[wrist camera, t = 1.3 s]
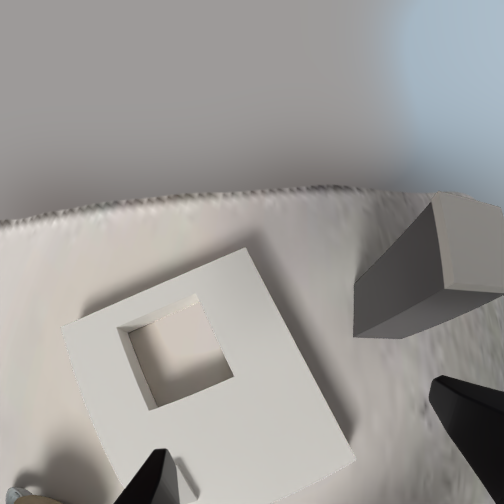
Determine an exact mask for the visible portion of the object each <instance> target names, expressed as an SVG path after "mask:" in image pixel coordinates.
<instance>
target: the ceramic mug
mask: <svg viewBox="0 0 504 504" xmlns="http://www.w3.org/2000/svg"><path fill="white" fill-rule="evenodd" d="M20 496H21V497H20ZM6 504H63V503H61V502H59V501H57V500H54V499H51V498H48V497H43V496H37V495H32V493H30V492H29V491H28V490H26V489H24V488H18V487H12V488H9V489H8V491H7V494H6Z"/></svg>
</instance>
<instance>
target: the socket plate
mask: <svg viewBox="0 0 504 504" xmlns="http://www.w3.org/2000/svg"><path fill="white" fill-rule="evenodd" d="M199 302H200V304H201V306H202V308H203V311H204V313H205V315H206V317H207V320H208V322H209V324H210V326H211V328H212V331H213V333H214V335H215V337H216V339H217V341H218V343H219V346H220V348H221V350H222V352H223V354H224V356H225V358H226V360H227V362H228V364H229V367H230V369H231V371H232V373H233V375H234V377H232V378H230V379H228V380H225V381H223V382H221V383H218V384H216V385H214V386H211V387H209V388H207V389H204V390H202V391H199V392H197V393H195V394H192V395H190V396H187V397H185V398H182V399H179V400H177V401H174V402H172V403H169V404H166V405H164V406H161V407H157V405H156V402H155V400H154V398H153V396H152V393H151V391H150V389H149V386H148V384H147V382H146V379H145V377H144V374H143V372H142V369H141V367H140V364H139V362H138V359H137V357H136V354H135V351H134V349H133V346H132V343H131V341H130V338H129V335H128V333H129V332H131V331H134V330H136V329H138V328H141V327H143V326H146V325H148V324H150V323H153V322H155V321H157V320H160V319H162V318H164V317H167V316H169V315H171V314H174V313H176V312H178V311H181V310H183V309H185V308H188V307H190V306H192V305H195V304H197V303H199ZM61 331H62V335H63V339H64V342H65V346H66V349H67V353H68V356H69V360H70V363H71V366H72V369H73V372H74V376H75V379H76V382H77V384H78V387H79V390H80V393H81V396H82V399H83V401H84V404H85V407H86V409H87V412H88V414H89V417H90V419H91V422H92V424H93V426H94V429H95V431H96V433H97V436H98V438H99V440H100V442H101V445H102V447H103V449H104V451H105V453H106V455H107V457H108V460H109V462H110V464H111V466H112V468H113V470H114V471H115V473H116V475H117V477H118V479H119V481H120V483H121V485H122V486H123V488H124V489H125V488H126V486H127V485H128V484H129V482H130V481H131V480H132V478H133V477H134V476H135V474H136V473H137V472H138V470H139V469H140V468H141V466H142V465H143V464H144V462H145V461H146V459H147V458H148V457H149V455H150V454H151V453H152V451H153V450H154V449H160V448H166V449H168V451H169V452H170V454H171V456H172V458H173V460H174V462H175V464H176V468H177V479H178V489H179V498H180V504H272V503H274V502H276V501H279V500H281V499H283V498H285V497H288V496H290V495H292V494H294V493H296V492H298V491H301V490H303V489H305V488H307V487H309V486H311V485H313V484H315V483H317V482H319V481H321V480H322V479H324V478H326V477H328V476H330V475H332V474H333V473H335V472H337V471H339V470H341V469H342V468H344V467H346V466H347V465H349V464H351V463H353V462H354V461H356V460H357V459H356V457H355V455H354V453H353V451H352V450H351V448H350V446H349V444H348V442H347V440H346V438H345V436H344V434H343V433H342V431H341V429H340V427H339V425H338V423H337V421H336V419H335V417H334V415H333V414H332V412H331V410H330V408H329V406H328V404H327V402H326V400H325V398H324V396H323V395H322V393H321V391H320V389H319V387H318V385H317V383H316V381H315V379H314V377H313V376H312V374H311V372H310V370H309V368H308V366H307V364H306V362H305V360H304V358H303V357H302V355H301V353H300V351H299V349H298V347H297V345H296V343H295V341H294V339H293V337H292V336H291V334H290V332H289V330H288V328H287V326H286V324H285V322H284V320H283V318H282V316H281V315H280V313H279V311H278V309H277V307H276V305H275V303H274V301H273V299H272V297H271V295H270V293H269V292H268V290H267V288H266V286H265V284H264V282H263V280H262V278H261V276H260V274H259V272H258V270H257V269H256V267H255V265H254V263H253V261H252V259H251V257H250V255H249V253H248V251H247V249H246V247H244V248H242V249H240V250H237V251H235V252H233V253H230V254H228V255H226V256H223V257H221V258H219V259H216V260H214V261H212V262H209V263H207V264H205V265H202V266H200V267H198V268H196V269H193V270H191V271H189V272H186V273H184V274H182V275H179V276H177V277H175V278H172V279H170V280H168V281H165V282H163V283H161V284H158V285H156V286H154V287H152V288H149V289H147V290H145V291H142V292H140V293H138V294H135V295H133V296H131V297H129V298H126V299H124V300H122V301H119V302H117V303H115V304H112V305H110V306H108V307H106V308H103V309H101V310H99V311H96V312H94V313H92V314H90V315H87V316H85V317H83V318H81V319H78V320H76V321H74V322H71V323H69V324H67V325H65V326H62V327H61Z"/></svg>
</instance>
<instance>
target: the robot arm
mask: <svg viewBox="0 0 504 504" xmlns="http://www.w3.org/2000/svg"><path fill="white" fill-rule="evenodd" d="M429 401H430V403H431V405H432V407H433V409H434V410H435V412H436V414H437V416H438V417H439V419H440V421H441V423H442V425H443V426H444V428H445V430H446V432H447V433H448V435H449V436H450V437H451V439H452V440H453V442H454V443H455V444H456V446H457V447H458V449H459V450H460V451H461V453H462V454H463V456H464V457H465V459H466V460H467V461H468V463H469V464H470V466H471V467H472V469H473V470H474V472H475V473H476V475H477V476H478V477H479V479H480V480H481V482H482V483H483V485H484V486H485V488H486V489H487V491H488V492H489V494H490V495H491V497H492V498H493V500H494V502H495V503H496V504H504V392H502V391H499V390H495V389H491V388H487V387H483V386H480V385H476V384H472V383H469V382H465V381H462V380H458V379H455V378H451V377H448V376H444V375H441V376H439V377H437V378H435V379H433V381H432V383H431V388H430V393H429ZM114 504H180V498H179V489H178V479H177V468H176V464H175V462H174V460H173V458H172V456H171V454H170V452H169V451H168V449H166V448H160V449H154V450H153V451H152V453H151V454H150V455H149V457H148V458H147V459H146V461H145V462H144V464H143V465H142V466H141V468H140V469H139V470H138V472H137V473H136V474H135V476H134V477H133V478H132V480H131V481H130V482H129V484H128V485H127V486H126V488H125V489H124V490H123V492H122V493H121V494H120V496H119V497H118V498H117V500H116V501H115V502H114Z"/></svg>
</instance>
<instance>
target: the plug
mask: <svg viewBox="0 0 504 504" xmlns="http://www.w3.org/2000/svg"><path fill="white" fill-rule="evenodd" d="M502 295H504V217H503V214H502V210H501V208H500V207H497V206H494V205H491V204H487V203H483V202H479V201H476V200H472V199H469V198H465V197H461V196H457V195H453V194H449V193H445V192H441V191H438V192H437V193H436V194H435V196H434V197H433V198H432V199H431V203H430V204H429V205H428V206H427V207H426V208H425V209H424V211H423V212H422V213H421V214H420V215H419V216H418V217H417V219H416V220H415V221H414V222H413V223H412V224H411V225H410V226H409V227H408V229H407V230H406V231H405V232H404V233H403V234H402V235H401V236H400V237H399V238H398V239H397V241H396V242H395V243H394V244H393V245H392V246H391V247H390V248H389V249H388V250H387V251H386V252H385V253H384V254H383V255H382V256H381V257H380V259H379V260H378V261H377V262H376V263H375V264H374V265H373V266H372V267H371V268H370V269H369V270H368V271H367V272H366V273H365V274H364V275H363V276H362V277H361V278H360V279H359V280H358V281H357V282H356V283H355V284H354V326H353V337H361V338H388V339H402V338H405V337H408V336H411V335H413V334H416V333H418V332H421V331H424V330H426V329H429V328H431V327H434V326H436V325H439V324H441V323H444V322H446V321H448V320H451V319H453V318H455V317H458V316H460V315H462V314H464V313H467V312H469V311H471V310H473V309H475V308H478V307H480V306H482V305H484V304H486V303H488V302H490V301H492V300H494V299H496V298H498V297H500V296H502Z"/></svg>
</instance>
